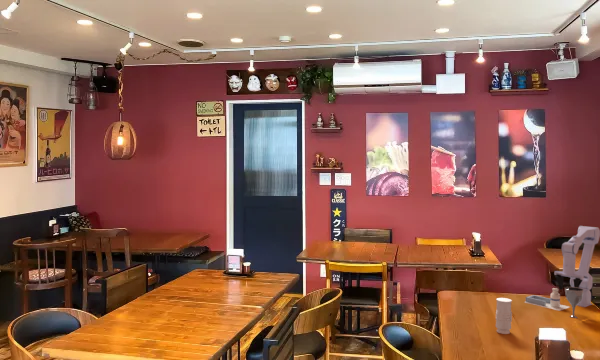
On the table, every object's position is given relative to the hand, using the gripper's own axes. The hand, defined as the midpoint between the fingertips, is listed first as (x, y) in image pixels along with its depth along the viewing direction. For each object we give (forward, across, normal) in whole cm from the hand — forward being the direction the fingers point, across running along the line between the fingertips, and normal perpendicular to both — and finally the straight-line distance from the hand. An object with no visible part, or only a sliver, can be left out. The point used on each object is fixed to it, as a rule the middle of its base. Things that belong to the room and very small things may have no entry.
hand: (568, 290), depth 274 cm
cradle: (+11, -12, 0) cm, 16 cm away
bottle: (+10, -7, 0) cm, 12 cm away
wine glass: (+11, +8, -10) cm, 17 cm away
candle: (+12, -1, -58) cm, 60 cm away
